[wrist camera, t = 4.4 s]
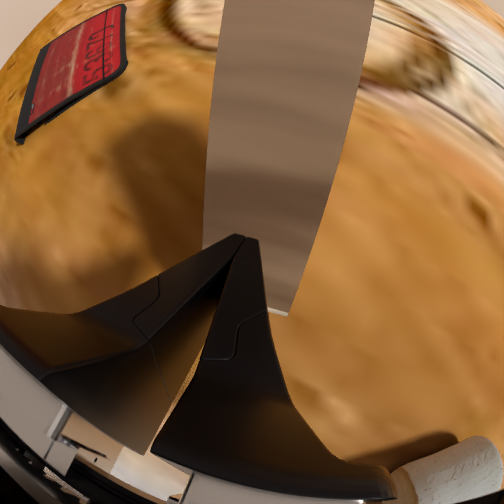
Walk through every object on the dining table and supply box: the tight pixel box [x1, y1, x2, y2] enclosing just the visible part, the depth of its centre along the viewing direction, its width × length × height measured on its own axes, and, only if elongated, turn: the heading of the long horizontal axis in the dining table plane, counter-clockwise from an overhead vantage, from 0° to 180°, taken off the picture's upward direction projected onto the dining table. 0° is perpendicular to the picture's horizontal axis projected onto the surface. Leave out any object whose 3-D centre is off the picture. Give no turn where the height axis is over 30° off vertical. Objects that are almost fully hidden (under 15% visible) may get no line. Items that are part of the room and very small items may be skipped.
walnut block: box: [202, 0, 375, 317], centre depth 11 cm, size 4×4×14 cm
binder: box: [14, 4, 128, 145], centre depth 22 cm, size 16×2×21 cm
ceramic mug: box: [382, 436, 503, 504], centre depth 9 cm, size 11×8×8 cm
